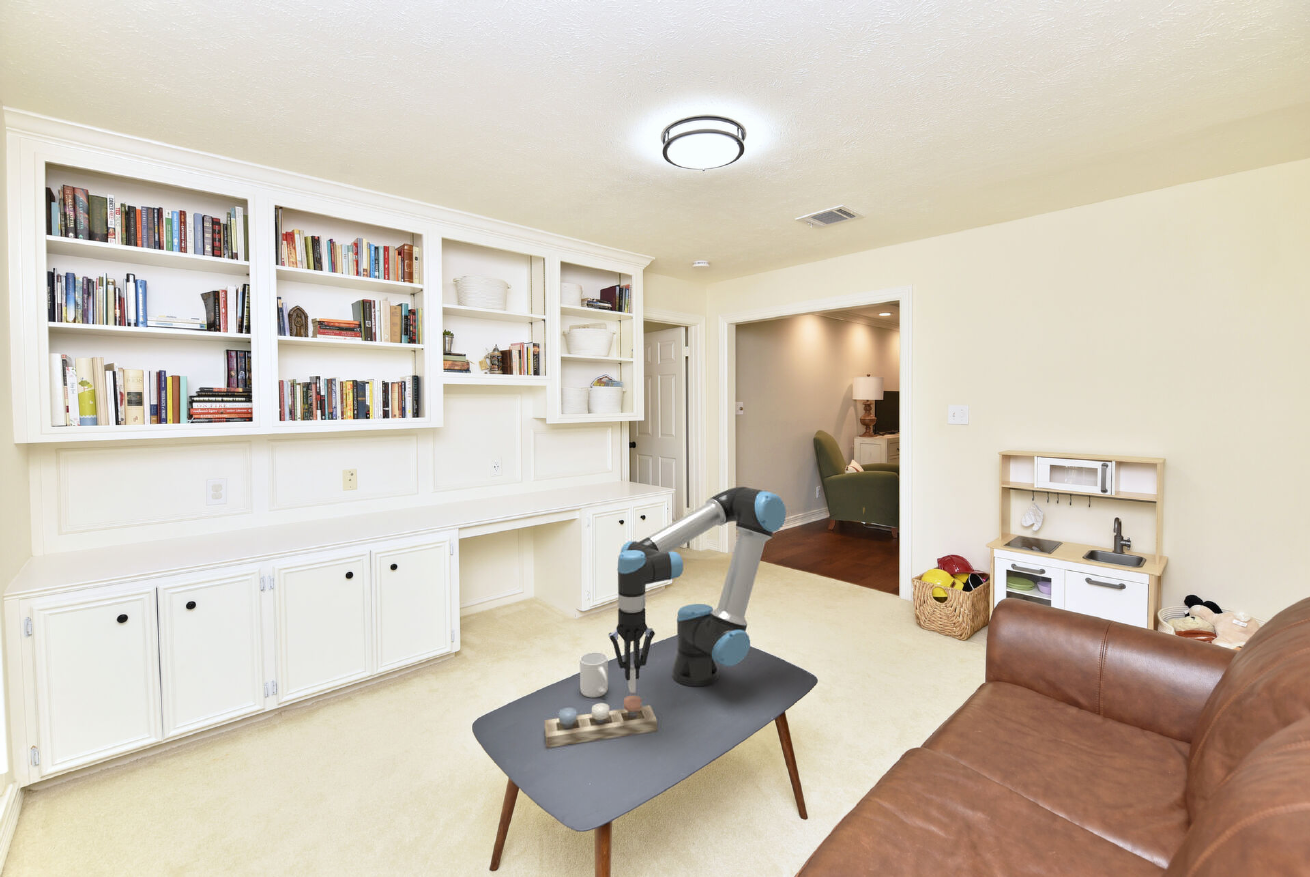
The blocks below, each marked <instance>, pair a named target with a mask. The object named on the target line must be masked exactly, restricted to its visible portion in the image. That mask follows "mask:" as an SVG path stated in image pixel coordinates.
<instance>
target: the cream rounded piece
mask: <svg viewBox="0 0 1310 877" xmlns="http://www.w3.org/2000/svg"><path fill="white" fill-rule="evenodd" d="M609 711H610V706H609V705H608V704H607V703H603V702H599V703H595V704H593V705H592V707H591V714H592V717H593V718H594V719H596V725H601V724H606V718H607V717H609Z"/></svg>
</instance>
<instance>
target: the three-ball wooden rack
mask: <svg viewBox="0 0 1310 877" xmlns="http://www.w3.org/2000/svg"><path fill="white" fill-rule="evenodd" d="M652 732H658V720H657V718H656V715H655V713H654V711H653V708H652V707H651V705H643V706H642V705H641V708H640V709H639V710H638V716H637V717H636V718H629V717H628V711H627V710H625V709H624V708H622V709H615V710H609V717H607V718H606V724H601V725H596V719H594V718H593V717H592V713H586V714H580V715H578V714H577V720H576V721H575V722H574V723H573V729H567V730H563V724H561V723H560V722H559V717H556V718H549V719H545V720H544V735H545V736H544V737H545V744H546V748H547V749H548V748H555V747H560V746H567V745H574V744H580V743H581V744H582V743H587V742H593V741H599V740H607V739H613V738H620V737H627V736H633V735H639V734H644V733H652Z"/></svg>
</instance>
